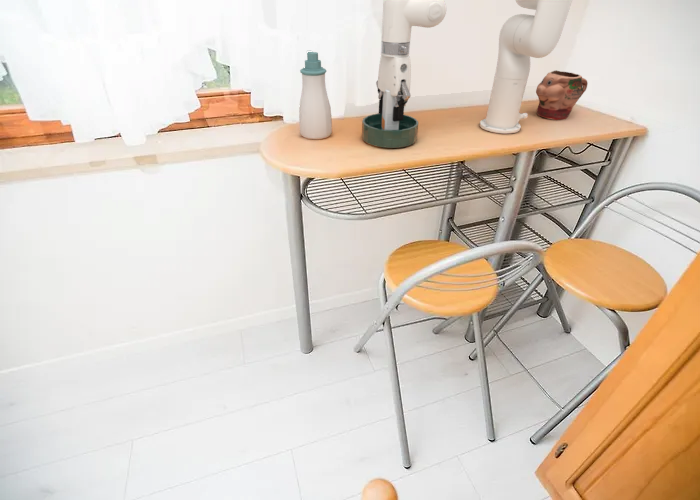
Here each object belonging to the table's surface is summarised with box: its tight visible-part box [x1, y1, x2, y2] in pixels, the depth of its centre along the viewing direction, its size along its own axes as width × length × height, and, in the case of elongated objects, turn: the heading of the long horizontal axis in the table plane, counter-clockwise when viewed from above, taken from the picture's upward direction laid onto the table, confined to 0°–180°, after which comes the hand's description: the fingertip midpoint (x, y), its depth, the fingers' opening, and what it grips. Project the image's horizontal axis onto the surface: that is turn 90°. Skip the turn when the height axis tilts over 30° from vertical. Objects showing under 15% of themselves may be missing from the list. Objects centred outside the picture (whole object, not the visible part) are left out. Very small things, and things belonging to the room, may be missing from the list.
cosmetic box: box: [381, 90, 401, 130], centre depth 114 cm, size 6×4×12 cm
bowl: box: [361, 112, 419, 149], centre depth 118 cm, size 16×16×6 cm
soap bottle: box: [298, 51, 333, 140], centre depth 115 cm, size 10×10×23 cm
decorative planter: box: [535, 70, 589, 121], centre depth 136 cm, size 20×12×14 cm, turn 114°
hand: (390, 116), depth 115 cm, fingers closed on cosmetic box, 7 cm apart
